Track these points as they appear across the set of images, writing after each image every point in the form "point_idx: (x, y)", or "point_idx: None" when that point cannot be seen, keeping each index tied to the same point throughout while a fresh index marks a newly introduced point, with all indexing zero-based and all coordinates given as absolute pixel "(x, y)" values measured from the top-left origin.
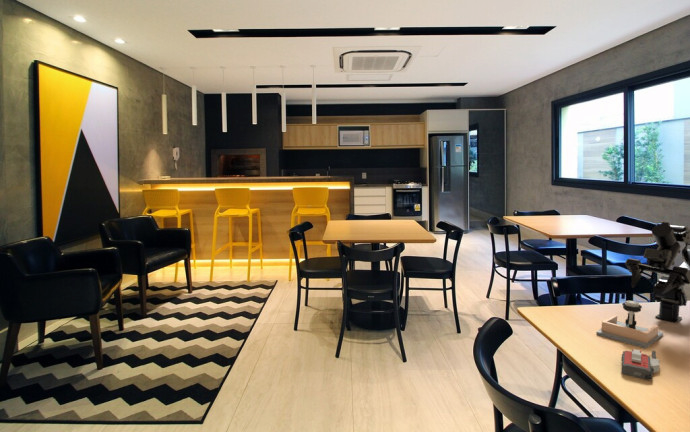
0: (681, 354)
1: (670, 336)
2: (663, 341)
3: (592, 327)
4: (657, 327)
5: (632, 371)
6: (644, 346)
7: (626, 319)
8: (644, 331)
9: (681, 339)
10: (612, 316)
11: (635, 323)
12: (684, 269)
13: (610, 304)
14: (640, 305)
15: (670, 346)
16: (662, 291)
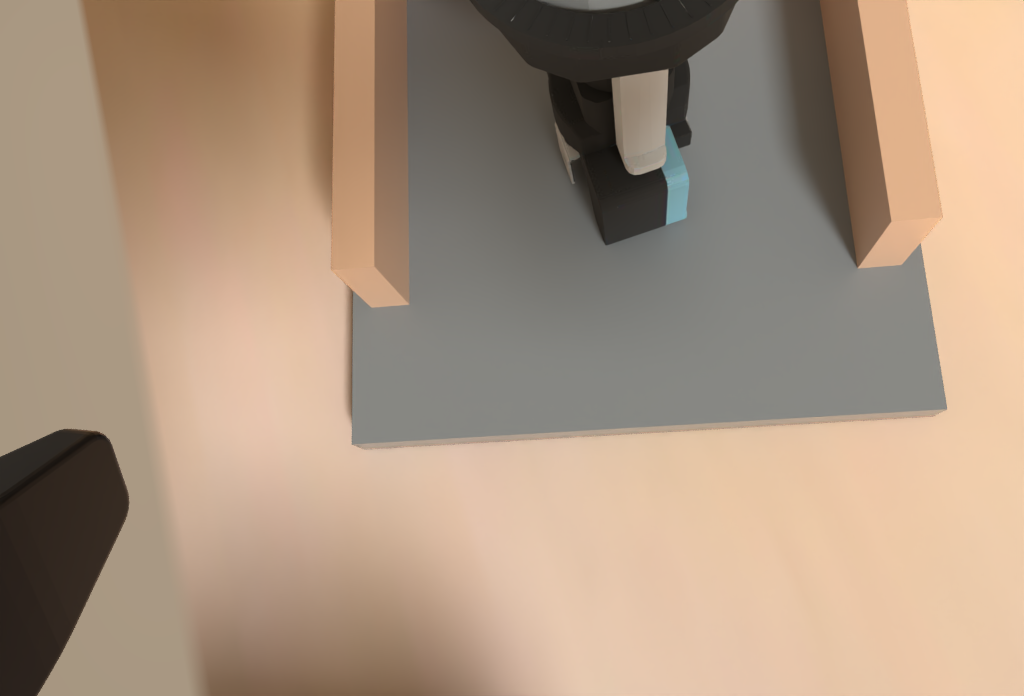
0: (112, 59)
1: (300, 493)
2: (308, 257)
3: (1014, 19)
4: (337, 240)
5: None
6: None
7: (680, 69)
8: (512, 290)
9: (192, 491)
10: (918, 133)
11: (552, 78)
12: None
13: None
14: (495, 5)
15: (224, 173)
16: (57, 441)
